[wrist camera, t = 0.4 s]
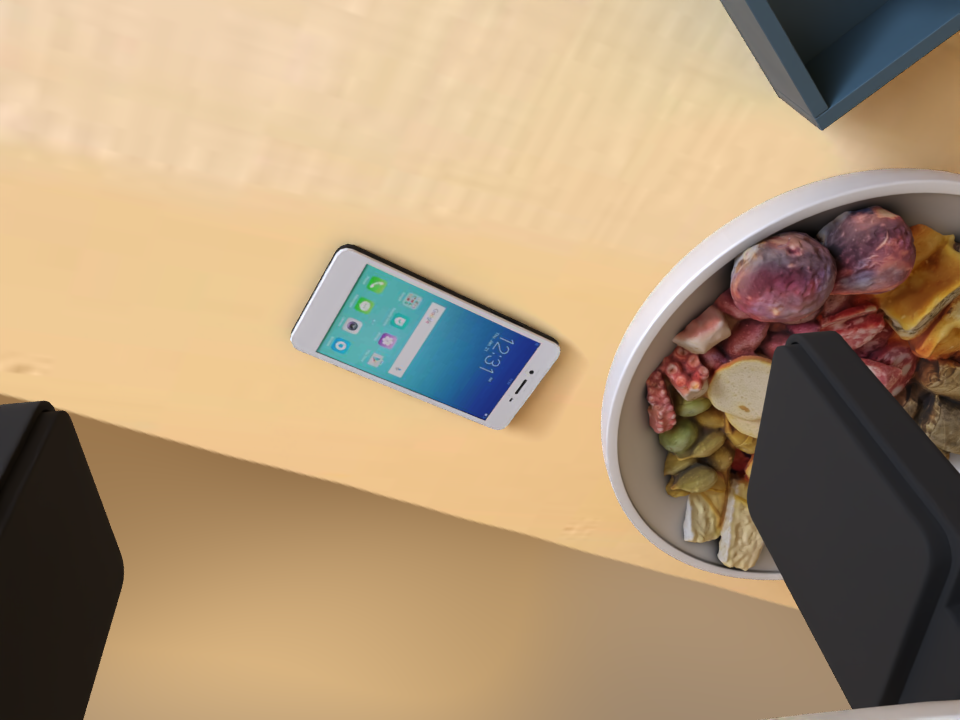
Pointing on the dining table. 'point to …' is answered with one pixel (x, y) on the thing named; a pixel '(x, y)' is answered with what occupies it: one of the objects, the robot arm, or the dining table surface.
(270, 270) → the dining table surface
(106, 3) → the dining table surface
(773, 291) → the bowl
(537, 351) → the smartphone
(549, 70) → the dining table surface
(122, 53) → the dining table surface
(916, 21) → the blue open storage box
